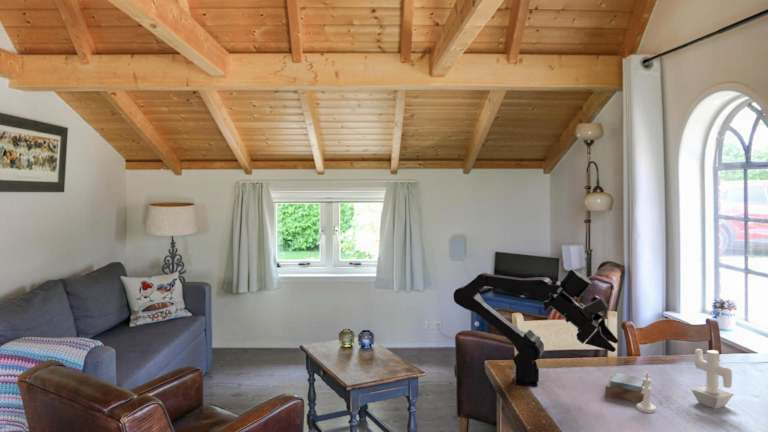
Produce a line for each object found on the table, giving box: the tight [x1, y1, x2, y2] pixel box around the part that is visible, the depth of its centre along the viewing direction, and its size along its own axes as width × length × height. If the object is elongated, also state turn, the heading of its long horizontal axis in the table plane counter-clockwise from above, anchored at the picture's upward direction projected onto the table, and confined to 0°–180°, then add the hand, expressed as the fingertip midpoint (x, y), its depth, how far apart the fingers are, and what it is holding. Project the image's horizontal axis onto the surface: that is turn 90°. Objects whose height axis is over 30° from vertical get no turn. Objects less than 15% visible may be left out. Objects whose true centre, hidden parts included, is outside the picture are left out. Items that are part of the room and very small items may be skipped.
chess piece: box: [635, 371, 658, 414], centre depth 132 cm, size 5×5×10 cm
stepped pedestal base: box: [604, 372, 645, 404], centre depth 141 cm, size 10×10×4 cm
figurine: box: [690, 348, 734, 410], centre depth 135 cm, size 7×9×15 cm
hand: (616, 346), depth 138 cm, fingers open, 9 cm apart
